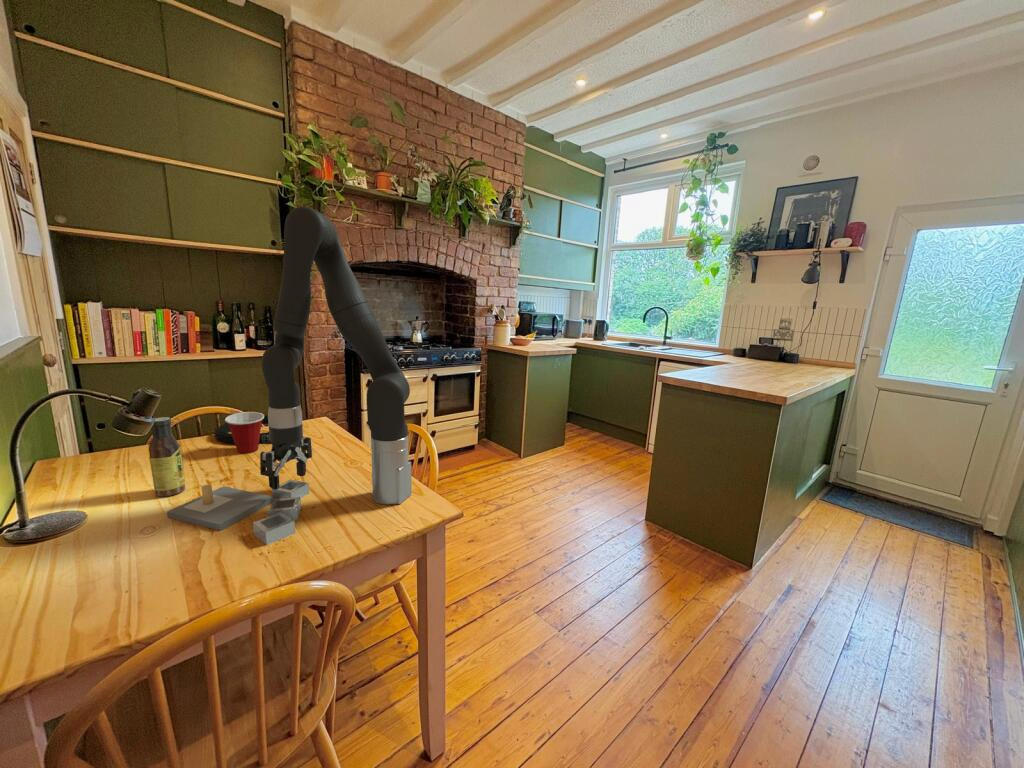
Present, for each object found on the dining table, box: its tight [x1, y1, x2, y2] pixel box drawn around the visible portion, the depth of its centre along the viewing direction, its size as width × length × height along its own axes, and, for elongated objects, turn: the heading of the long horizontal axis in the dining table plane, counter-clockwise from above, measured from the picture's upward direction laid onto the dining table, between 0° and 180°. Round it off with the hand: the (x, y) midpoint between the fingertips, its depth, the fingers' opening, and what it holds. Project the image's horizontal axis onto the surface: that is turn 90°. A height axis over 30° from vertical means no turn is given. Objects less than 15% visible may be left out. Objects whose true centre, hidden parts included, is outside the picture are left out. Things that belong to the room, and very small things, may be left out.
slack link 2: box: [252, 512, 296, 546], centre depth 90 cm, size 6×6×3 cm
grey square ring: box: [271, 479, 310, 500], centre depth 107 cm, size 6×6×3 cm
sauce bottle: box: [148, 416, 186, 498], centre depth 105 cm, size 7×6×20 cm
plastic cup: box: [224, 411, 265, 455], centre depth 135 cm, size 11×11×12 cm
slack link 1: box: [267, 497, 302, 521], centre depth 98 cm, size 6×6×3 cm
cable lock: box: [213, 414, 271, 445], centre depth 153 cm, size 28×4×30 cm
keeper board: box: [166, 483, 273, 531], centre depth 99 cm, size 16×14×6 cm
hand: (288, 481), depth 107 cm, fingers open, 8 cm apart
